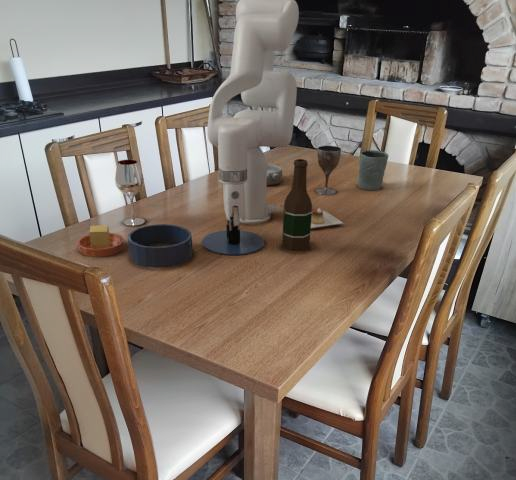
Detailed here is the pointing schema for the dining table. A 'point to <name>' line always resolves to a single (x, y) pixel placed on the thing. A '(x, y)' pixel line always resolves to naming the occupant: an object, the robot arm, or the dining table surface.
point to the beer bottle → (297, 211)
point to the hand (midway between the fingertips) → (233, 240)
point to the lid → (220, 244)
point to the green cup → (372, 169)
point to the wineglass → (129, 185)
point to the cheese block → (99, 237)
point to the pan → (160, 255)
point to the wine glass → (328, 164)
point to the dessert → (323, 219)
